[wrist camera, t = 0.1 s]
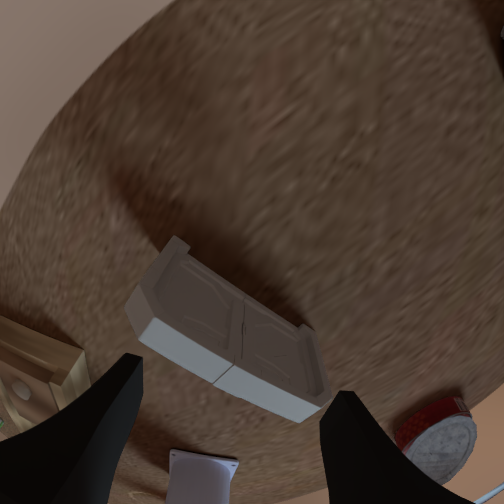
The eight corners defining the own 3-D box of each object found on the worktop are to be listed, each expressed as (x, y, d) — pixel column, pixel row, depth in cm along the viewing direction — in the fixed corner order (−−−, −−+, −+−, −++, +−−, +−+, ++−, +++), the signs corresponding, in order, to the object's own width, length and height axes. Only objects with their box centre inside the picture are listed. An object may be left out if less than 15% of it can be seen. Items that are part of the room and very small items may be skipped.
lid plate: (76, 431, 23) (69, 446, 21) (24, 407, 23) (16, 420, 21) (54, 372, 20) (43, 390, 18) (-2, 345, 19) (-15, 359, 17)
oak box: (107, 445, 29) (97, 473, 24) (39, 416, 28) (25, 440, 24) (83, 350, 22) (60, 386, 18) (0, 315, 21) (-26, 341, 17)
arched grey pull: (299, 345, 21) (314, 430, 14) (160, 254, 19) (112, 324, 12) (315, 331, 21) (337, 415, 14) (174, 234, 18) (127, 298, 11)
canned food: (384, 416, 33) (368, 473, 24) (434, 369, 28) (432, 431, 20) (439, 445, 29) (432, 500, 21) (489, 404, 24) (495, 462, 16)
